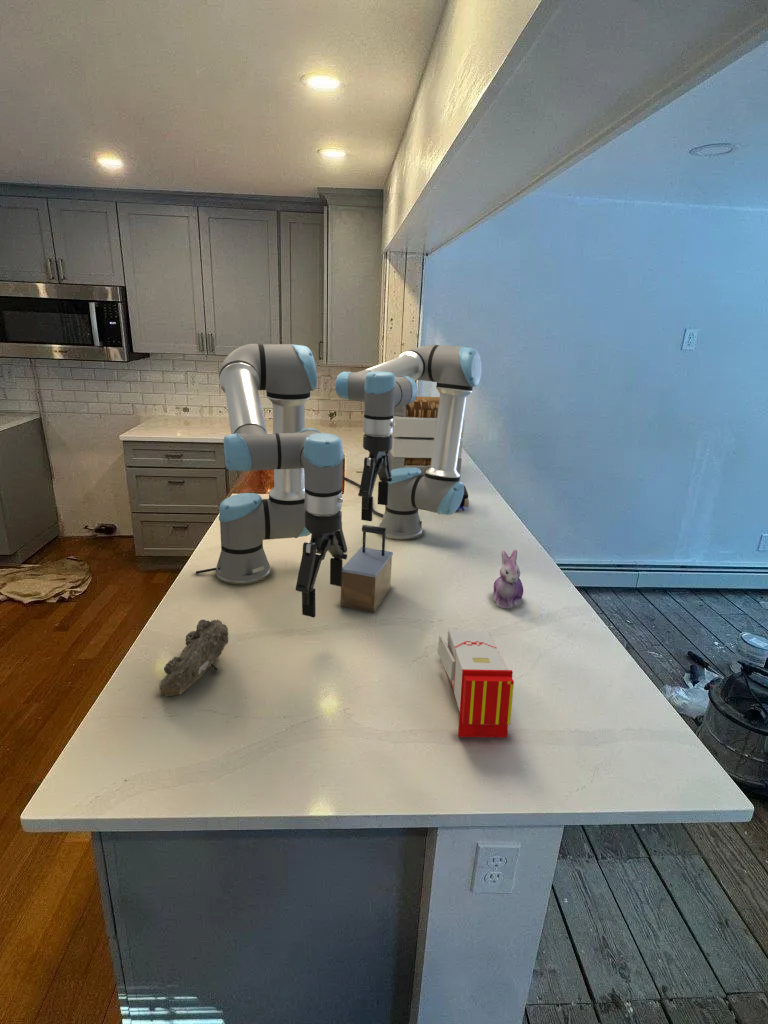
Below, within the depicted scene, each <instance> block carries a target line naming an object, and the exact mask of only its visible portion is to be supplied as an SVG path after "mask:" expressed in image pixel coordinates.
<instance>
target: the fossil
mask: <svg viewBox="0 0 768 1024" xmlns="http://www.w3.org/2000/svg"><path fill="white" fill-rule="evenodd" d="M228 644H229V628H228V626H227V625H226V624H224V623H223V622H222V621H221V620H220V619H212V620H206V619H200V620H199V621H198V623H197V625H196V630H192V631H189V632H188V633H186V636H185V646H184V648H183V649H182V652H181V653H180V655H179V656H173V657H172V659H171V660H169V661H168V662H167V663H166V664H165V665H164V667H163V671H164V672H165V674H166V676H165V677H164V678H163V679H161V681H160V684H159V691H160V695H165V696H166V697H172V696H176V695H181V694H183V693H184V692H185V691H186V690H188V688H190V687H192V685H193V684H194V683H195V682H197V680H199V679H200V678H201V677H202V676H204V673H205V672H206V670H207V669H208V668H210V667H211V668H212V669H213V670H214V671H216V672H218V671H219V669H218V668H217V667H216V665H214V663H213V662H214V661H215V660H216V659H219V657H220V656H221V655H222V653H223V651H224V649H225V647H226V646H227V645H228Z"/></svg>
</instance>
